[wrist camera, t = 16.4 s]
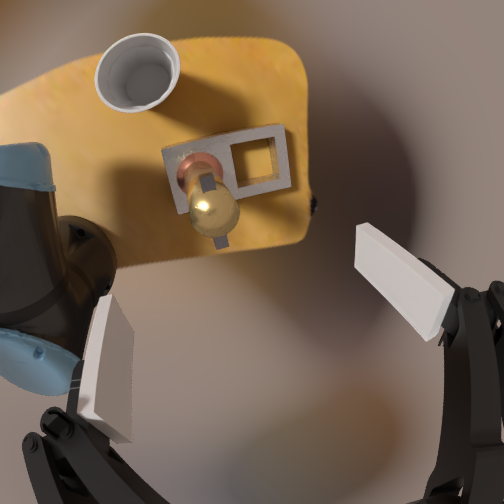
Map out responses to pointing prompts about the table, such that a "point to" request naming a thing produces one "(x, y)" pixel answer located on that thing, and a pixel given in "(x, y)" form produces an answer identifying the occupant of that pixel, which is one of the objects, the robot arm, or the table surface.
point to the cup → (137, 73)
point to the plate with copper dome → (227, 162)
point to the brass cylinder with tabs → (210, 203)
